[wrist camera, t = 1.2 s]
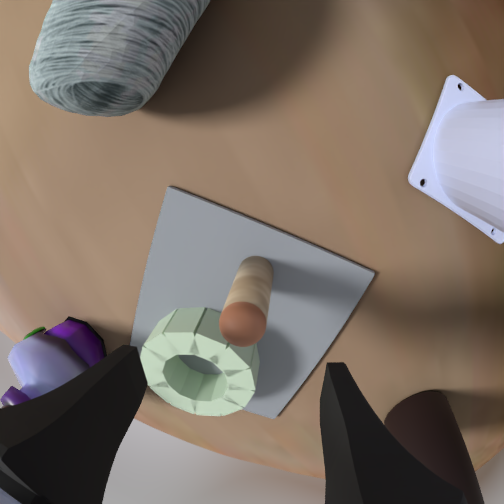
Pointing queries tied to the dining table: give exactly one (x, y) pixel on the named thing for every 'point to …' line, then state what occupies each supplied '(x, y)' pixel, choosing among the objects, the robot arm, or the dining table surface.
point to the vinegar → (435, 440)
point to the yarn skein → (108, 52)
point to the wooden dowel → (247, 303)
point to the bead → (207, 347)
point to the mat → (222, 277)
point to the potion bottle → (52, 359)
